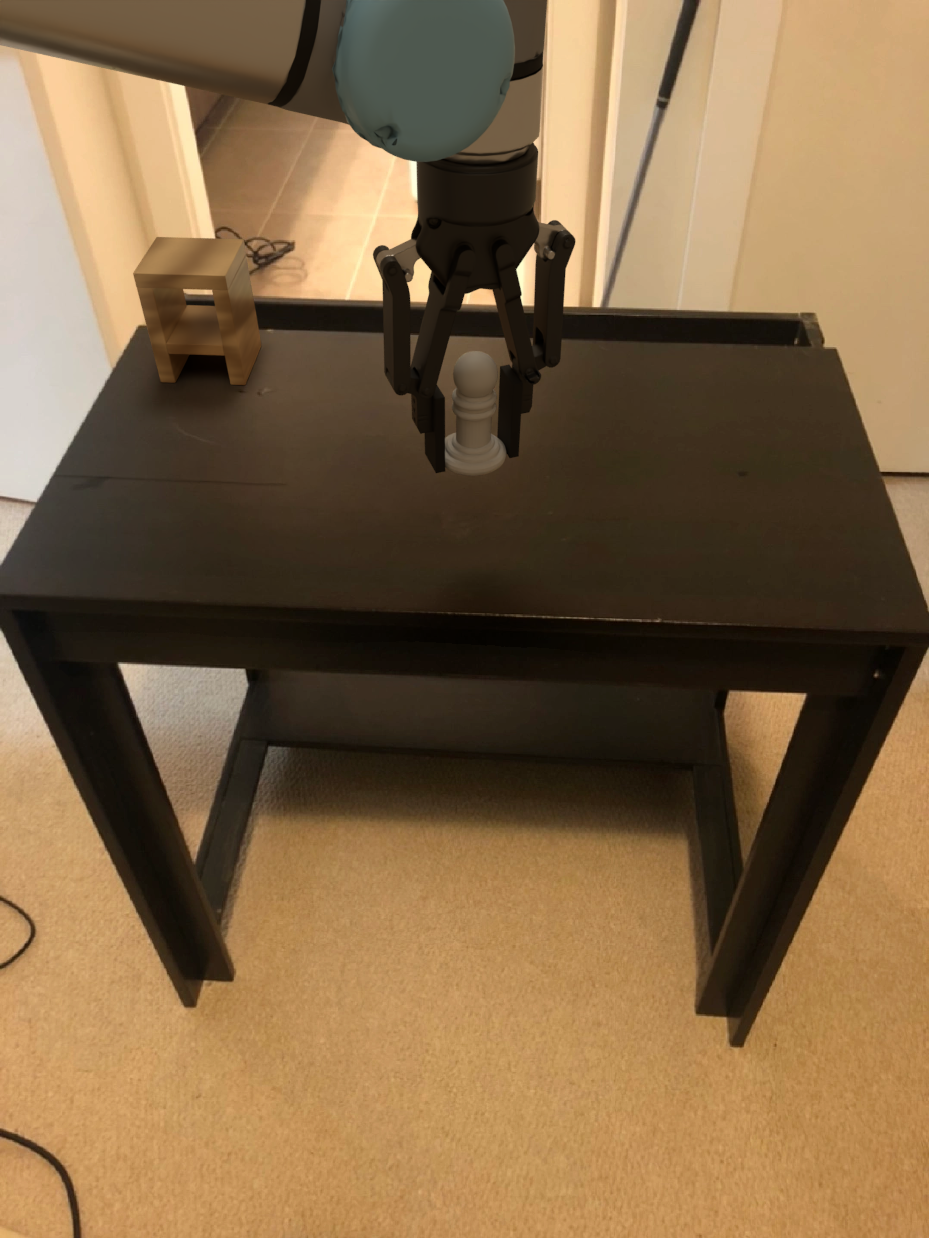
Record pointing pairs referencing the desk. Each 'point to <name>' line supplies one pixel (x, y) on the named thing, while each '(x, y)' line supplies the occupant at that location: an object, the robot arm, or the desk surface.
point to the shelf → (192, 325)
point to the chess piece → (474, 417)
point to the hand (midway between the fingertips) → (471, 454)
